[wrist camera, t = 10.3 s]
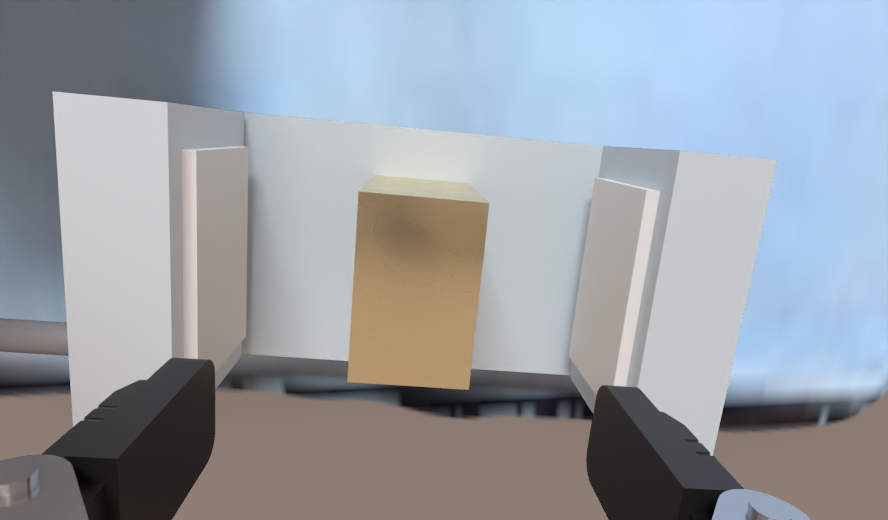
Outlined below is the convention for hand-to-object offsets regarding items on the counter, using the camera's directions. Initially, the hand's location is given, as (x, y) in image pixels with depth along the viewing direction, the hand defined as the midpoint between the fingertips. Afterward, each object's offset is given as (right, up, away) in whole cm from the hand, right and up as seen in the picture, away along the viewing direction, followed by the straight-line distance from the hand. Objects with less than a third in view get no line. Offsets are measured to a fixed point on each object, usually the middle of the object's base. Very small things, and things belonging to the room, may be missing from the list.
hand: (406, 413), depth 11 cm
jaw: (-13, +4, +15) cm, 21 cm away
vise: (-1, +4, +17) cm, 18 cm away
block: (-1, +4, +16) cm, 16 cm away
